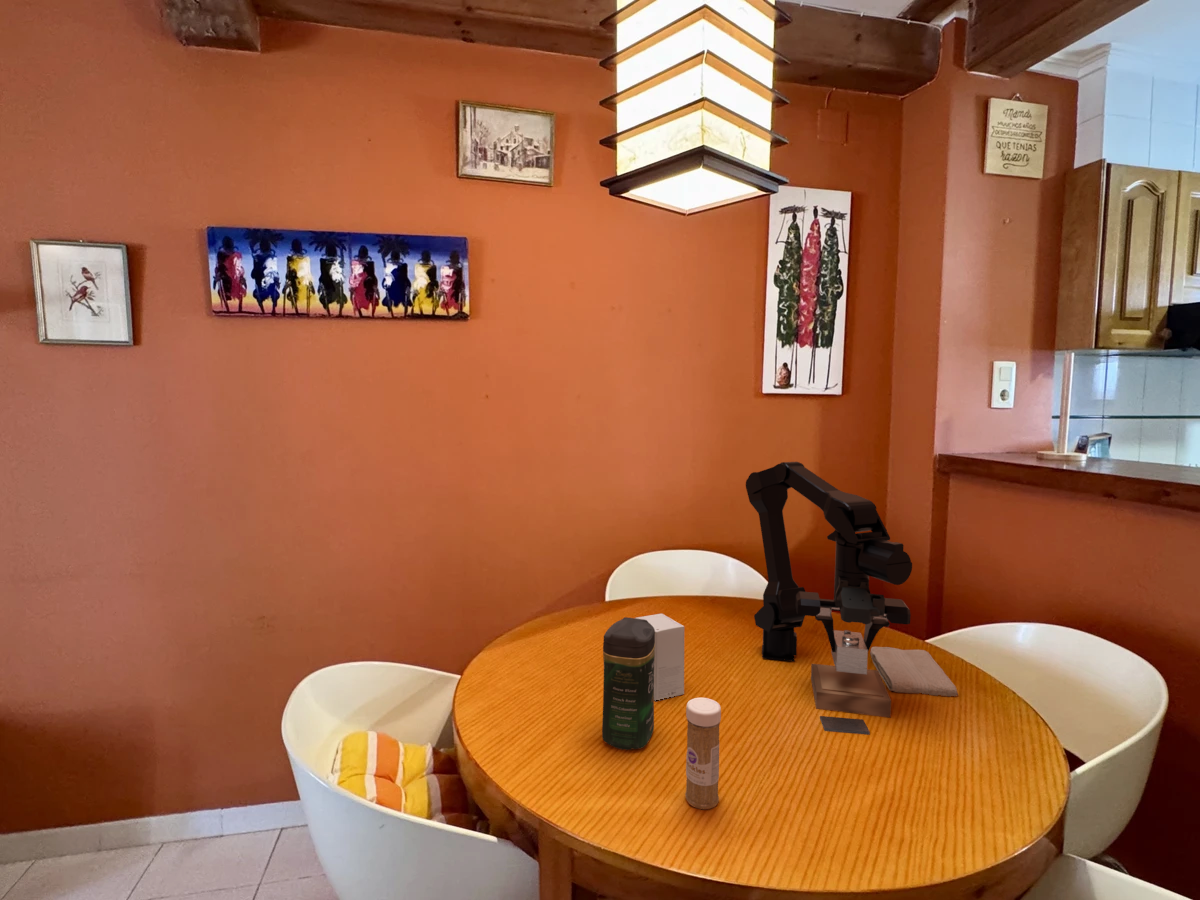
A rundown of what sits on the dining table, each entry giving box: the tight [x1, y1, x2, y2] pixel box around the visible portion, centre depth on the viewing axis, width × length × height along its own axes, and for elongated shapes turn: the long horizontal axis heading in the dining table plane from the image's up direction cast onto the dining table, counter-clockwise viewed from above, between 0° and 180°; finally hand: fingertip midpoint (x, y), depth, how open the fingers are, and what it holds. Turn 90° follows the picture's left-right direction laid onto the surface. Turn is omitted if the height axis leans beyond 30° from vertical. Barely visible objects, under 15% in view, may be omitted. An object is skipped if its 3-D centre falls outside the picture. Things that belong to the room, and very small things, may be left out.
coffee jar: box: [601, 616, 655, 751], centre depth 97 cm, size 10×8×19 cm
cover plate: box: [819, 715, 871, 736], centre depth 100 cm, size 7×4×1 cm, turn 80°
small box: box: [635, 613, 685, 702], centre depth 113 cm, size 8×6×13 cm
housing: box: [831, 629, 869, 675], centre depth 110 cm, size 8×5×6 cm, turn 165°
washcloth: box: [869, 646, 959, 697], centre depth 120 cm, size 12×18×3 cm, turn 170°
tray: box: [810, 663, 892, 718], centre depth 110 cm, size 12×12×3 cm
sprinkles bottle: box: [684, 697, 722, 810], centre depth 81 cm, size 5×5×14 cm
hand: (848, 652), depth 110 cm, fingers closed on housing, 5 cm apart
